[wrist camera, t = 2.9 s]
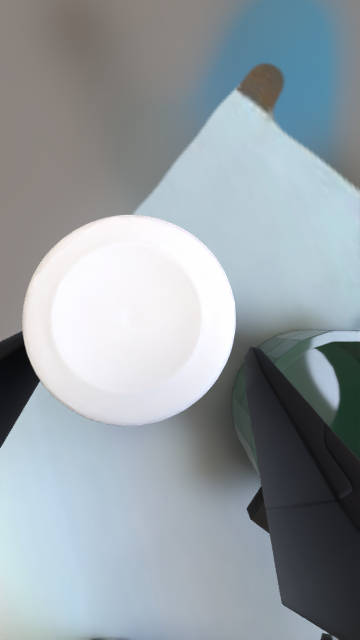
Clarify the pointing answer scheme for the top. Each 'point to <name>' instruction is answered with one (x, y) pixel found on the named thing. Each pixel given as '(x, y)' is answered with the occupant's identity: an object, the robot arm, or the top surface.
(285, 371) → the pot
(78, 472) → the top surface
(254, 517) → the pot handles
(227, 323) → the sprinkles bottle
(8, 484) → the top surface
